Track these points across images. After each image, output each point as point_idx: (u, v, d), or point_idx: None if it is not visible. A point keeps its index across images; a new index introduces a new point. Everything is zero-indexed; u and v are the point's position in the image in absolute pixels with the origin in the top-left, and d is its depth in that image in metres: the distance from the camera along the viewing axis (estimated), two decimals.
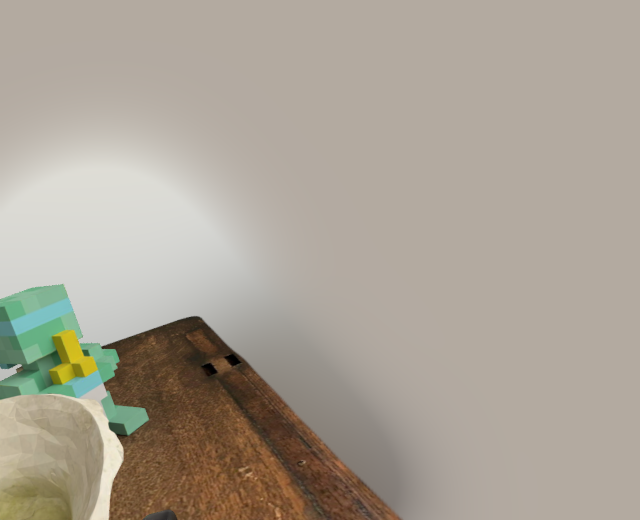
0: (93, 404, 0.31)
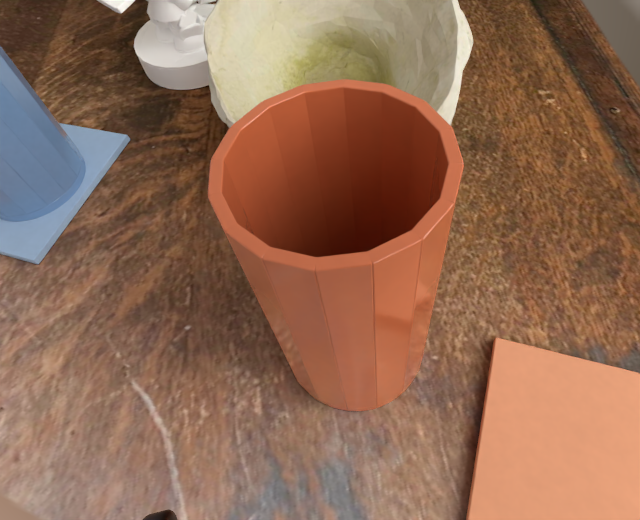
0: None
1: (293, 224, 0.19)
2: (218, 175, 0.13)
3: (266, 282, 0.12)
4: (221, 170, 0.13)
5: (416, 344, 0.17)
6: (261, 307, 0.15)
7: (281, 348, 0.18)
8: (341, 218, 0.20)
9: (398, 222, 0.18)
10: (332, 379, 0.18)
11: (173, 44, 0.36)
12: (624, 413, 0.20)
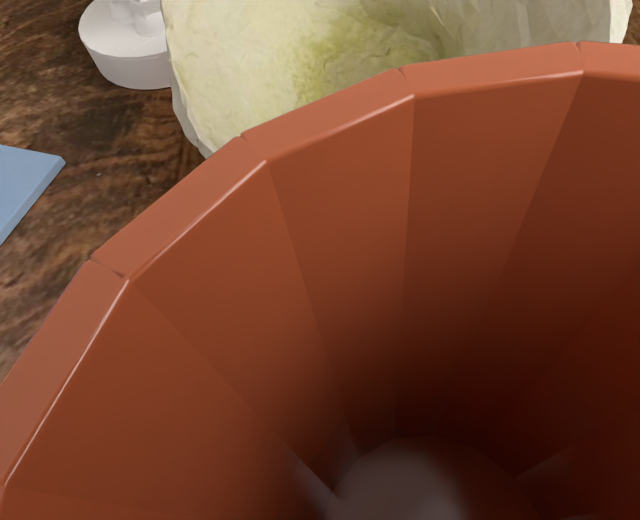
0: None
1: (328, 404, 0.08)
2: None
3: None
4: None
5: None
6: None
7: None
8: (433, 373, 0.09)
9: (585, 409, 0.08)
10: None
11: (133, 24, 0.25)
12: None
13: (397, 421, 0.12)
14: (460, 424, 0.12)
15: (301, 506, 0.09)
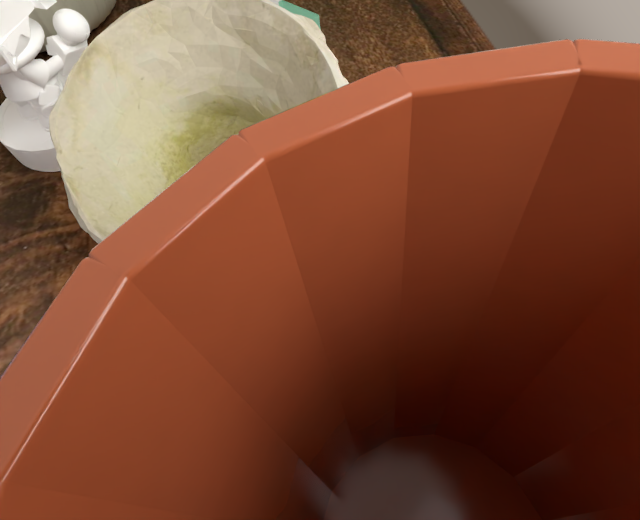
0: (313, 27, 0.23)
1: (328, 403, 0.08)
2: None
3: None
4: None
5: None
6: None
7: None
8: (432, 372, 0.09)
9: (584, 408, 0.08)
10: None
11: (40, 121, 0.31)
12: None
13: (396, 420, 0.12)
14: (459, 423, 0.12)
15: (300, 505, 0.09)
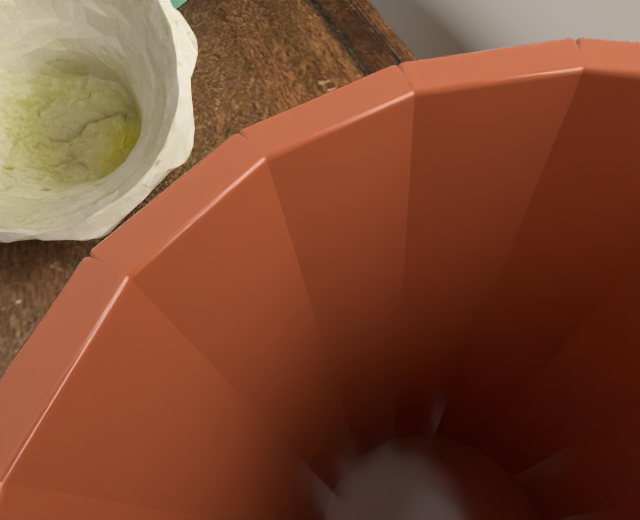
0: None
1: (328, 403, 0.08)
2: None
3: None
4: None
5: None
6: None
7: None
8: (433, 372, 0.09)
9: (585, 408, 0.08)
10: None
11: None
12: None
13: (397, 420, 0.12)
14: (460, 423, 0.12)
15: (301, 505, 0.09)
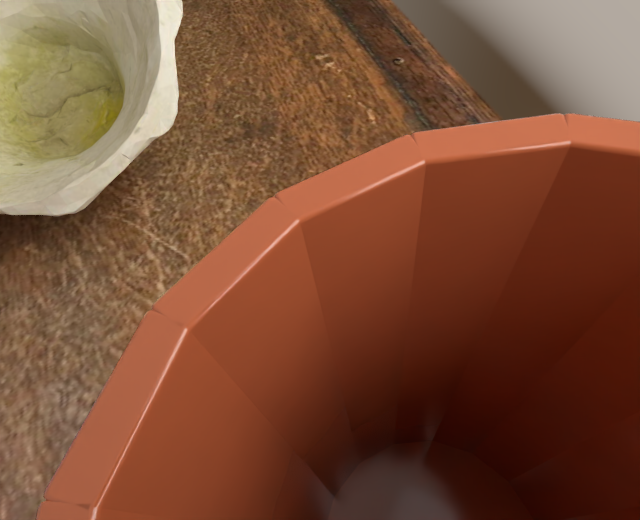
0: None
1: (336, 416, 0.08)
2: None
3: None
4: None
5: None
6: None
7: None
8: (433, 385, 0.09)
9: (575, 420, 0.08)
10: None
11: None
12: None
13: (397, 428, 0.13)
14: (457, 431, 0.12)
15: (308, 511, 0.10)
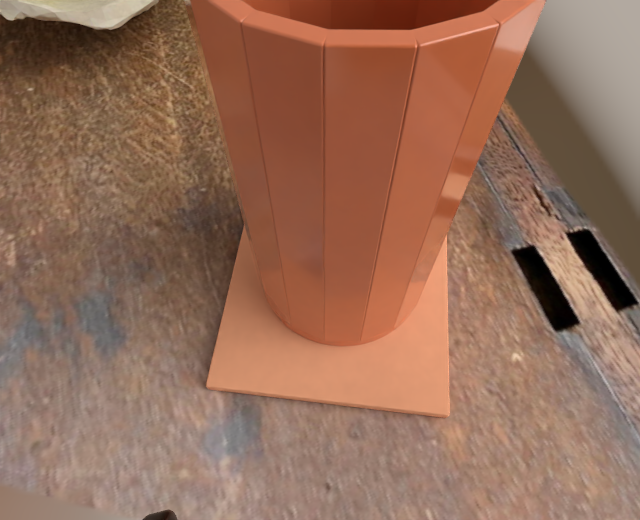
0: None
1: None
2: None
3: (243, 91, 0.08)
4: None
5: (426, 258, 0.14)
6: (233, 167, 0.11)
7: (253, 246, 0.14)
8: None
9: None
10: (313, 290, 0.14)
11: None
12: None
13: None
14: None
15: None
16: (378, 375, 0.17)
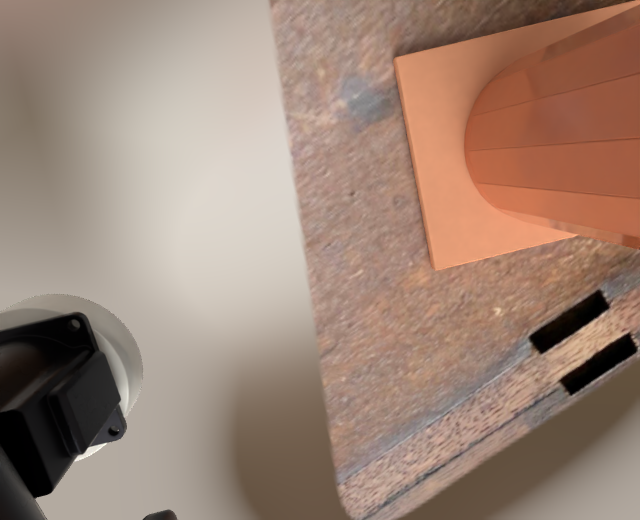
0: None
1: None
2: None
3: None
4: None
5: (576, 228, 0.15)
6: None
7: (551, 59, 0.14)
8: None
9: None
10: (519, 136, 0.15)
11: None
12: None
13: None
14: None
15: None
16: (450, 206, 0.20)
